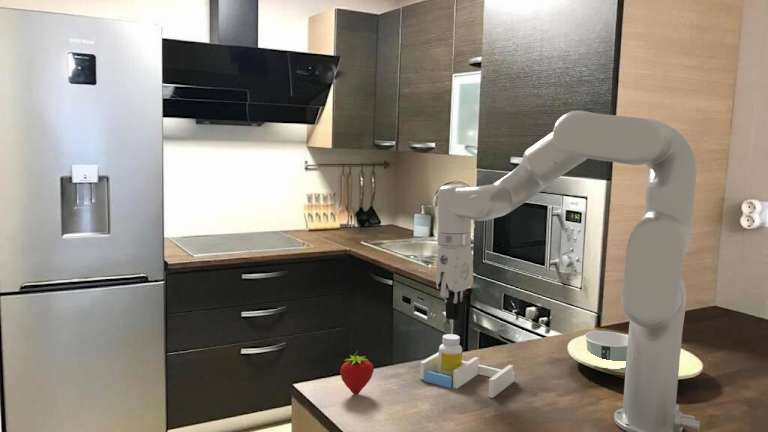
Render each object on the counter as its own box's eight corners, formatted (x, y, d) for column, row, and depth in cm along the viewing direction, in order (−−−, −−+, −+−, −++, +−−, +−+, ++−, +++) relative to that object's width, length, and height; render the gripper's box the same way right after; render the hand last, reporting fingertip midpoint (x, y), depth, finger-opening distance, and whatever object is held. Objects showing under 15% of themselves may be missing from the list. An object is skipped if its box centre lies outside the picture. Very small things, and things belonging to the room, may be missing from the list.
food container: (635, 374, 155) (637, 348, 154) (583, 368, 158) (585, 342, 157) (630, 358, 166) (632, 333, 166) (582, 353, 170) (583, 329, 169)
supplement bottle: (465, 380, 149) (467, 339, 148) (444, 382, 147) (446, 341, 146) (454, 371, 154) (455, 332, 153) (433, 374, 152) (435, 334, 151)
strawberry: (378, 396, 139) (379, 351, 137) (347, 402, 135) (347, 356, 133) (365, 386, 144) (366, 343, 142) (334, 392, 140) (335, 348, 139)
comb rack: (514, 381, 149) (514, 364, 148) (491, 398, 138) (492, 381, 138) (444, 364, 159) (445, 348, 158) (418, 379, 148) (418, 362, 148)
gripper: (453, 245, 138) (452, 328, 140) (483, 237, 150) (482, 313, 152) (423, 242, 142) (422, 323, 144) (454, 234, 154) (453, 309, 156)
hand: (453, 318), depth 148 cm, fingers closed
